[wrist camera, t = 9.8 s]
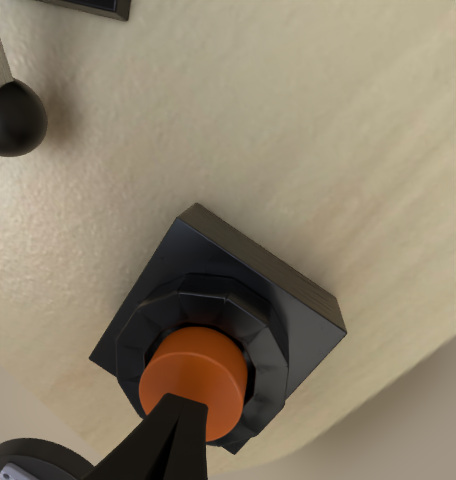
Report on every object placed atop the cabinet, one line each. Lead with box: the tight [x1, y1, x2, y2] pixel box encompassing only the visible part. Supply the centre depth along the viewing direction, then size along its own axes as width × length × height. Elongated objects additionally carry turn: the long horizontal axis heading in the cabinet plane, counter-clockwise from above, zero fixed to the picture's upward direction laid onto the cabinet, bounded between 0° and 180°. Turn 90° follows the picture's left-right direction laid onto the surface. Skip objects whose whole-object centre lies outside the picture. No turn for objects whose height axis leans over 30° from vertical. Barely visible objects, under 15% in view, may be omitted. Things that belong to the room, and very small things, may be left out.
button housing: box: [89, 203, 347, 455], centre depth 16 cm, size 8×8×5 cm
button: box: [139, 326, 248, 442], centre depth 13 cm, size 4×4×2 cm
